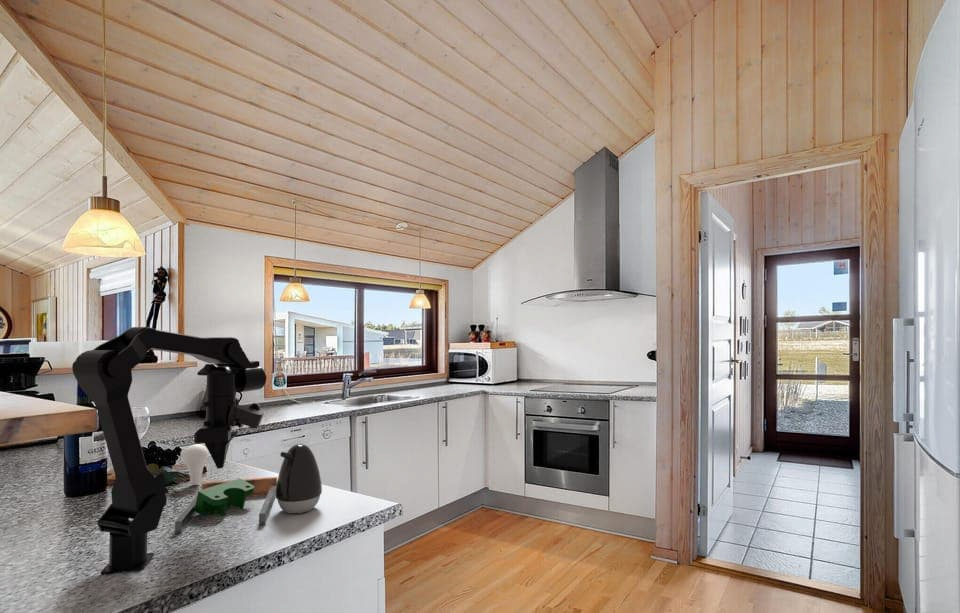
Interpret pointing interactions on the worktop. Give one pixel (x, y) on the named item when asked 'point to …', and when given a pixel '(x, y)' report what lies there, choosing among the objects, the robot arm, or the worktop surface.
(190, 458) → the lightbulb
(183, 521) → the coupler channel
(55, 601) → the worktop surface
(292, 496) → the pump dispenser
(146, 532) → the robot arm
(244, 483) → the clamp
